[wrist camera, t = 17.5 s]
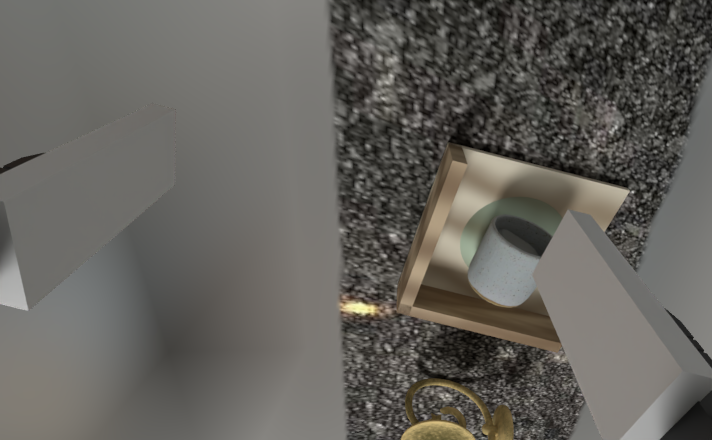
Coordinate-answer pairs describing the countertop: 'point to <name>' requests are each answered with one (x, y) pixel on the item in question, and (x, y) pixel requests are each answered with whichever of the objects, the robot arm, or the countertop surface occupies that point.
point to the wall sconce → (446, 436)
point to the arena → (467, 228)
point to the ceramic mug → (507, 260)
